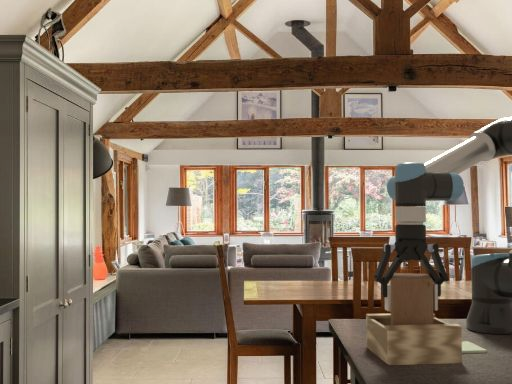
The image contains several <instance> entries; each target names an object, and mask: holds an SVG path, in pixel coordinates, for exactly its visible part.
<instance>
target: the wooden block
mask: <svg viewBox="0 0 512 384" xmlns="http://www.w3.org/2000/svg"><path fill="white" fill-rule="evenodd" d="M389 283H390V284H389V285H391V311H390V313H391V325H428V324H433V314H434V310H433V283H434V282H433V280H432V278H431V277H430V276H429V274H428V273H408V272H407V273H405V272H403V273H401V272H398V273H397V272H395V273H394V275H393V276H392V278H391V279H390V281H389Z"/></svg>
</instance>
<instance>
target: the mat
mask: <svg viewBox="0 0 512 384" xmlns="http://www.w3.org/2000/svg"><path fill="white" fill-rule="evenodd" d="M477 353H478V354H483V353H488V350H487V349H486V348H483V347H481V346H479V345H478V344H475V343H472V342H471V341H468V340H466V341H464V340H463V341H462V354H477Z"/></svg>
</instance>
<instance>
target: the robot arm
mask: <svg viewBox="0 0 512 384" xmlns="http://www.w3.org/2000/svg"><path fill="white" fill-rule="evenodd" d="M504 156H512V115H508V116H505V117H502V118H500V119H499V118H498V119H497V120H495V121H493V122H491V123H489V124H487V125H485V126H484V127H481V128H480V129H478V130H476V131H474V132H473V133H471V134H470V136H469V138H468V139H467V140H465V141H463V142H461V143H460V144H458V145H455V146H454V147H452V148H450V149H448V150H446V151H445V152H443V153H441V154H440V155H438V156H436V157H434V158H432V159H431V160H428V161H426V162H425V163H423V162H401V163H398V164H397V165H396V166H395V171H394V175H393V176H391V177H390V178H389V179H388V181H387V183H386V191H387V194H388V197H389V198H390V199H391V200H393V201H394V203H395V204H394V205H395V207H394V209H395V212H394V213H395V214H394V215H395V217H394V219H395V222H396V223H397V224H396V225H395V226H394V227H395V228H394V229H395V230H394V231H395V237H394V239H395V242H394V244H389V243H383V245H382V253H381V256H380V260H379V262H378V264H377V267H376V270H375V273H374V276H373V281H375V282H377V283H379V284H380V296H381V297H382V298H384V311H387V312H391V285H390V284H389V283H390V279H391V278H392V276H393V275H394V273H397V270H398V269H399V268H400V265H402V263H403V262H404V261H406V262H407V261H418V262H419V263H420V264H421V266H422V267H423V269H424V271H426V274H428V275H429V276H430V277H431V278H432V280H433V311H438V310H439V299H438V298H439V297H441V296H442V284H444V282H448V281H449V276H448V273H447V271H446V268H445V266H444V263H443V261H442V258H441V255H440V251H439V249H440V248H439V247H440V246H439V244H438V243H429V244H427V226H426V224H424V223H426V222H427V213H426V211H427V210H426V209H427V208H426V207H427V201H428V202H430V201H435V202H436V201H441V202H443V201H445V202H450V201H456V200H458V199H459V198H461V196H462V195H463V192H464V191H465V190H464V180H463V178H462V177H461V175H460V174H462V173H463V172H465V171H466V170H468V169H470V168H472V167H474V166H476V165H478V164H479V163H480V162H488V161H491V160H493V159H495V158H497V157H504ZM427 250H428V252H429V253H430V256H431V259H432V262H433V263H434V266H435V269H436V270H435V269H434V267H433V266H432V264H431V263H430V261H429V260H428V258H427V256H426V255H425V253H426V251H427ZM393 251H395V252H396V255H395V256H394V258H393V261H392V262H391V264H389V265H390V266H389V267H388V268H387V265H388V263H389V259H390V257H391V254H392V253H393ZM436 271H437V272H436ZM470 275H471V278H470V279H471V282H470V283H471V305H470V307H469V311H468V314H467V317H466V320H465V327H466V329H467V330H469V331H473V332H477V333H484V334H492V335H493V334H494V335H511V334H512V249H511V250H509V252H500V253H485V254H476V255H473V257H472V259H471V267H470Z"/></svg>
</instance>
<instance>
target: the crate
mask: <svg viewBox="0 0 512 384" xmlns="http://www.w3.org/2000/svg"><path fill="white" fill-rule="evenodd" d="M365 325H366V326H365V335H366V336H365V337H366V338H365V343H366V344H365V347H366V349H368V350H369V351H370V352H371V353H373V354H374V355H375V356H377V357H378V358H379V359H381V360H382V361H383V362H385V364H387V365H388V366H403V365H404V366H409V365H434V364H435V365H441V364H443V365H444V364H463V353H462V342H463V341H462V340H463V336H462V335H463V334H462V333H463V332H462V329H463V327H462V325H460V324H458V323H450V322H449V323H448V322H447V321H444V320H442V319H440V318H437V317H436V315H435V313H433V324H428V325H391V312H390V313H365Z"/></svg>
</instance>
